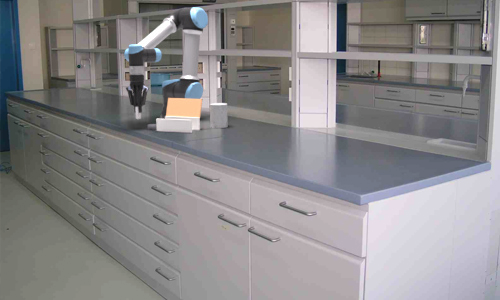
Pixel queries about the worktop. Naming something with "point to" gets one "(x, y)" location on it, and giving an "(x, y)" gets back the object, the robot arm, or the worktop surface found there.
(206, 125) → the worktop surface
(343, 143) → the worktop surface
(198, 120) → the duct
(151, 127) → the grey round puck
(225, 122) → the grey concrete cylinder
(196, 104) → the duct cover
